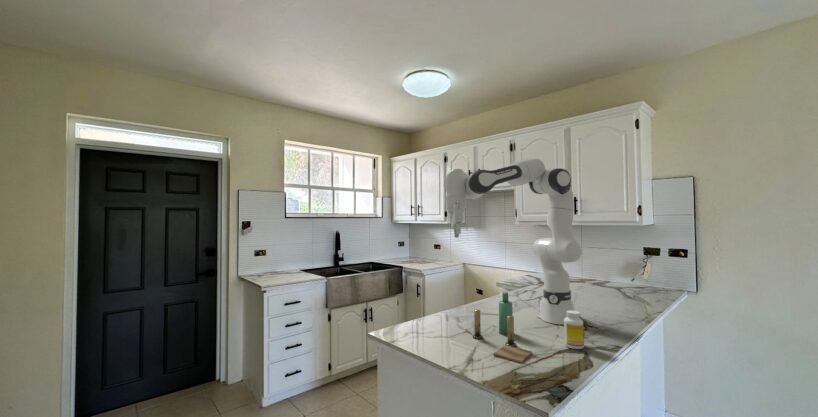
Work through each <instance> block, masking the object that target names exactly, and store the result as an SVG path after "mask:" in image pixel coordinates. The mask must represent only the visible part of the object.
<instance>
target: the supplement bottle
mask: <svg viewBox="0 0 818 417" xmlns="http://www.w3.org/2000/svg"><path fill="white" fill-rule="evenodd" d="M563 329H564V330H563V332H564V334H563V337H564V338H563V339H564V340H563V341H564V346H566V347H567V348H570V349H573V350H582V349H583V348H584V347H585V336H584V335H585V332H584V331H585V329H584V321H583V319H582V318H581V312H580V311H577V310H575V311H572V310H569V311H567V317H566V318H565V319H564V325H563Z"/></svg>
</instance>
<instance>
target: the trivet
mask: <svg viewBox="0 0 818 417" xmlns="http://www.w3.org/2000/svg"><path fill="white" fill-rule="evenodd" d="M532 354H533V351H531V350H527V349H523V348H520V347H519V348H518V347H511V346H507V345H503V346H502V347H500V348H498V349H497V351H495V352H493V357H497V358H499V359H500V358H501V359H504V360H507V361H513V362H515V363H518V364H523V363H524V362H526V360H527V359H528V358H529V357H531V355H532Z"/></svg>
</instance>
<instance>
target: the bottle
mask: <svg viewBox="0 0 818 417" xmlns="http://www.w3.org/2000/svg"><path fill="white" fill-rule="evenodd" d="M501 294H502V300H499V301H498V334H500V335H502V336H507V316H508V315H511V316H514V315H513V302H512V301H510V300H509V292H506V291H503V292H502V293H501Z"/></svg>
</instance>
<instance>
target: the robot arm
mask: <svg viewBox="0 0 818 417" xmlns="http://www.w3.org/2000/svg"><path fill="white" fill-rule="evenodd" d="M504 183H507V184H509V185H510V186H511V187H517V186H518V187H519V186H522V185H523V186H524V185H526V184H528V186H529V189H530V190H531V192H532V193H534V194H538V195H545V194H548V197H549V203H548V209H547V210H548V211H547V217H546V218H547V219H546V224H547V227H548V228H549V229H550V231H551V236H552V237H541V238H538V239H536V240H535V241H534V243H533V245H532V250H533V254H534V255H535V256H536V257H537V258H538V260H539V263H540V266H541V268H542V273H543V284H544V285H543V287H544V289H543V290H542V291H543V292H542V294H543V298H542V299H541V300H540V303H539V304H540V306H539V307H540V309H539V314H536V317H537V318H539V319H540V320H542V321H543V322H545V323H549V324H553V325H563V326H564V319H565V318H566V317H567V311H569V310H572V311H576V310H575V306H576V305H575V303H574V302H573V301H572V291H571V289H570V288H571V287H570V274H569V273H568V271H567V270H566V269H565V268H564V266H563V263H564V264H566V263H568V264H569V263H574V262H578V261H579V260H580V259H581V257H582V252H583V251H582V249H583V248H582V246H581V244H580V243H579V242H578V241H577V240H576V238H575V235H574V231H573V218H574V208H575V205H574V203H575V202H574V199H575V198H574V192H573V191H572V189H571V187H572V185H571V183H572V177H571V175H570V173H569V171H568V170H567V169H565V168H557V167H556V168H552V169H548V170H547V169H546V167H545V163H544V162H543V161H542V160H541V159H539V158H529V159H522V160H520V161H516V162H513V163H511V164H510V165H508V166H505V167H501V168H498V169H492V170H487V169H478V170H476V171H474V172H473V173H472V174H471V175H470V174H468V173H466V172H465V171H464V170H463V169H461V168H455V169H452V170H450V171H449V172H447V173H446V175H445V192H446V196H445V203H446V204H445V205H446V206H445V208H446V210H447V212H448V215H449V220H450V226H451V227H450V228H451V229H453V232H454V238H455V239H456V238H459V236H460V235H461V233H462V224H463V221H464V211H465V209H467V200H473V201H474V200H477V199H479V198H480V197H482V196H484V195H485V194H486V193H488V192H490V191H492V189H493V188H494V187H495V186H497V185H500V184H504Z"/></svg>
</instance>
